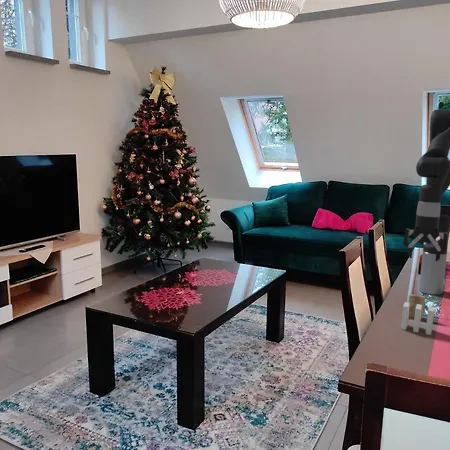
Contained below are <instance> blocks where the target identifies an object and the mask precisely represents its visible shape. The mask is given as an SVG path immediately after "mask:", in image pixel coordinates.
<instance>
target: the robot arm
mask: <svg viewBox="0 0 450 450" xmlns="http://www.w3.org/2000/svg"><path fill="white" fill-rule="evenodd" d="M449 153H450V108H449V109H434V110H433V111H432V112H431V114H430V121H429V145H428V148H427V150H426V152H425V153H423V154H422V156H421V157H420V158H419V159H418V161H417V162H416V168H415V171H416V174H417V175H418V176H419V177H421V178H425V179H426V180H425V184H422V185H421V186H419V187H420V188H419V192H418V193H419V195H418V203H417V208H416V211H415V212H416V214H415V227H414V229H410V228H406V229H405V231H404V237H403V242H402V243H403V244H402V245H403V246H406V247H407V249H408V250H407V256H408V257H409V259H412V258H413V250H414V245H416V244H417V243H418V242H419V243H421V244H423V247H422V254H423V255H422V254H421V255H422V265H421V274H419V285H418V290H419V292H421V293H424V294H428V295H441V294H443V292H444V285H445V277H446V276H445V274H446V265H447V257H448V248H449V247H448V246H449V245H448V244H449V238H450V215H449V214H443V213H442V214H441V200H442V195H444V194H445V193H446V191H447V190H448V189H449V187H450V159H449ZM412 234H413V236H414V239H412V241H411V242H410V243H409V236H411V235H412ZM438 237H439V239H438ZM424 243H426V244H424Z"/></svg>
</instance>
